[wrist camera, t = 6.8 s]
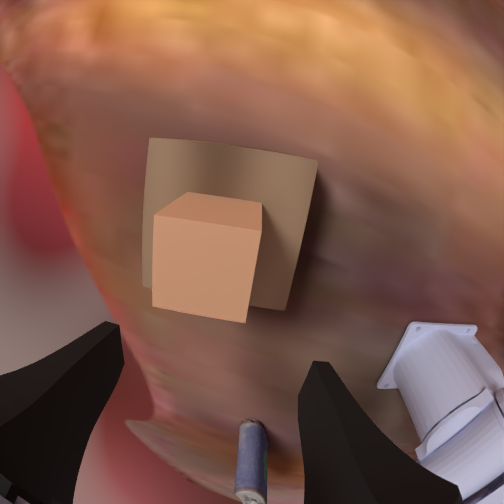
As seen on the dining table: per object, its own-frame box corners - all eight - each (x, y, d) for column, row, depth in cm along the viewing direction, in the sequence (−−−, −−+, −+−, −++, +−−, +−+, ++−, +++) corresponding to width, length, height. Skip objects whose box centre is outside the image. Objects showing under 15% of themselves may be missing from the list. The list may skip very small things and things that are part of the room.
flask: (237, 418, 26) (230, 507, 16) (266, 417, 26) (265, 508, 16) (246, 454, 29) (242, 525, 19) (269, 454, 29) (269, 525, 19)
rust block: (261, 202, 15) (261, 231, 10) (250, 271, 16) (245, 322, 12) (187, 191, 15) (153, 214, 10) (181, 260, 16) (152, 306, 11)
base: (309, 158, 17) (318, 160, 14) (282, 287, 20) (284, 310, 17) (167, 138, 16) (149, 137, 14) (157, 266, 20) (142, 286, 17)
